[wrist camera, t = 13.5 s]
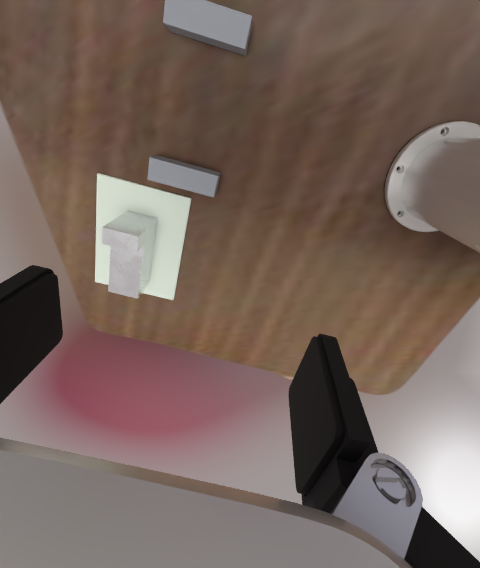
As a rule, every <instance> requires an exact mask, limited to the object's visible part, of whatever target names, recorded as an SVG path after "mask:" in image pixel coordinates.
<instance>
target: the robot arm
mask: <svg viewBox="0 0 480 568" xmlns="http://www.w3.org/2000/svg"><path fill="white" fill-rule="evenodd" d="M441 130H442V133H441ZM398 166H399V169H398V170H396V169H397V167H398ZM384 190H385V201H386V205H387V208H388V210H389V212H390V214H391V215H392V217H393V218H394V219H395V220H396V221H397V222H399V223H400V224H401V225H403V226H405V227H407V228H408V229H411V230H415V231H418V232H434V231H441V232H443V233H445V234H446V235H448V236H450V237H452V238H454V239H455V240H457V241H459V242H461V243H463V244H464V245H466V246H468V247H470V248H472V249H473V250H475V251H477V252H479V253H480V125H478V124H476V123H471V122H466V121H454V122H447V123H442V124H439V125H436V126H433V127H431V128H429V129H427V130H425V131H423V132H421V133H420V134H418V135H417V136H416V137H414V138H413V139H412V140H411V141H410V142H409V143H408V144H407V145H406V146H405V147H404V148H403V149H402V150H401V151H400V152H399V154H398V155H397V157H396V158H395V159H394V161H393V163H392V165H391V167H390V169H389V172H388V175H387V178H386V183H385V189H384ZM399 211H400V212H399ZM398 212H399V213H398ZM397 213H398V214H397ZM62 335H63V331H62V320H61V309H60V298H59V287H58V278H57V276H56V275H55V274H54V273H53V271H52V270H51V269H48V268H43V267H40V266H34V265H32V266H29V267H28V268H26V269H24V270H23V271H21V272H19V273H17V274H16V275H14V276H13V277H11V278H9V279H7V280H6V281H4V282H2V283H0V404H1V403H2V402H3V400H4V399H5V398H6V397H7V396H8V395H9V394H10V393H11V392H12V391H13V390H14V389H15V388H16V387H17V386H18V385H19V384H20V383H21V382H22V381H23V380H24V378H25V377H27V376H28V374H29V373H30V372H31V371H32V370H33V369H34V368H35V367H36V366H37V365H38V364H39V363H40V362H41V361H42V360H43V359H44V358H45V357H46V356H47V355H48V354H49V353H50V352H51V350H52V349H53V348H54V347H55V346H56V345H57V344H58V343H59V342H60V340H61V338H62ZM289 407H290V419H291V430H292V443H293V456H294V468H295V481H296V490H297V492H298V493H301V494H302V504H303V505H300V504H298V503H294V502H290V501H285V500H281V499H277V498H273V497H268V496H264V495H260V494H256V493H252V492H248V491H244V490H239V489H235V488H230V487H226V486H221V485H217V484H212V483H208V482H203V481H199V480H194V479H190V478H185V477H181V476H176V475H172V474H167V473H163V472H158V471H154V470H148V469H144V468H140V467H135V466H130V465H125V464H121V463H117V462H112V461H107V460H103V459H98V458H93V457H89V456H84V455H80V454H75V453H70V452H65V451H61V450H56V449H51V448H47V447H42V446H37V445H33V444H28V443H23V442H18V441H13V440H9V439H4V438H0V568H480V562H479V561H478V560H477V559H476V558H475V557H474V556H473V555H472V554H471V553H470V552H469V551H467V550H466V549H465V548H464V547H463V546H462V545H461V544H460V543H459V542H458V541H457V540H456V539H455V538H454V537H453V536H452V535H451V534H450V533H449V532H448V531H447V530H446V529H444V528H443V527H442V526H441V525H440V524H439V523H438V522H437V521H436V520H435V519H434V518H433V517H432V516H431V515H430V514H429V513H428V512H427V511H426V510H425V509H424V508H423V507H422V500H423V499H422V494H421V490H420V488H419V486H418V484H417V482H416V480H415V479H414V477H413V476H412V474H411V473H410V472H409V470H408V469H407V468H406V467H405V466H404V465H403V464H402V463H400V462H399V461H397V460H396V459H395V458H393V457H391V456H389V455H386V454H382V453H378V450H377V447H376V444H375V441H374V438H373V435H372V432H371V429H370V427H369V424H368V421H367V418H366V415H365V412H364V409H363V406H362V403H361V400H360V397H359V394H358V391H357V388H356V386H355V383H354V381H353V380H352V379H351V378H349V375H348V372H347V369H346V366H345V363H344V360H343V357H342V354H341V350H340V347H339V344H338V341H337V339H336V338H335V337H332V336H328V335H324V334H319V335H318V336H317V337H315V336H314V337H313V338H312V339H311V341H310V344H309V346H308V348H307V350H306V352H305V355H304V357H303V359H302V361H301V363H300V365H299V368H298V370H297V372H296V374H295V376H294V379H293V381H292V383H291V385H290V388H289Z"/></svg>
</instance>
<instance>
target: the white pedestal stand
mask: <svg viewBox="0 0 480 568" xmlns="http://www.w3.org/2000/svg"><path fill="white" fill-rule="evenodd" d="M157 221H158V218H156V217H153V216H149V215H145V214H142V213H138V212H134V211H130V210H127V211H126V212H124V213H123V214H121V215H120V216H118V217H117V218H115V219H114V220H112V221H111V222H109V223H108V224H106V225H105V226H103V227H102V244H105V245H109V246H111V249H110V268H109V287H108V292H113V293H117V294H121V295H125V296H129V297H133V298H139V297H140V295H141V294H142V292H143V291H144V289H145V288H146V286H147V285H148V283H149V282H150V275H151V267H152V260H153V252H154V244H155V237H156V229H157Z"/></svg>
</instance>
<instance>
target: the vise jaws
mask: <svg viewBox="0 0 480 568" xmlns="http://www.w3.org/2000/svg"><path fill="white" fill-rule="evenodd" d="M163 23H164V25H165V26H166V27H167V28H168V29H169V30H170V32H172V33H175V34H179V35H182V36H185V37H188V38H191V39H194V40H197V41H201V42H204V43H207V44H210V45H213V46H216V47H219V48H223V49H226V50H229V51H232V52H235V53H238V54H241V55H244V56H246V53H247V48H248V43H249V39H250V34H251V29H252V16H251V15H248V14H245V13H242V12H239V11H236V10H233V9H230V8H227V7H224V6H221V5H218V4H215V3H212V2H209V1H206V0H165V8H164V18H163ZM220 174H221V173H220V172H217V171H213V170H209V169H206V168H202V167H199V166H195V165H192V164H188V163H184V162H181V161H177V160H174V159H170V158H166V157H163V156H159V155H155V156H152V157H150V159H149V169H148V179H147V180H151V181H155V182H158V183H162V184H166V185H169V186H173V187H177V188H180V189H184V190H188V191H192V192H195V193H199V194H203V195H206V196H210V197H214V196H215V194H216V193H217V188H218V183H219V179H220Z"/></svg>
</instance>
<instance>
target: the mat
mask: <svg viewBox="0 0 480 568" xmlns="http://www.w3.org/2000/svg"><path fill="white" fill-rule="evenodd" d="M191 199H192V198H190V197H187V196H183V195H179V194H175V193H172V192H168V191H164V190H161V189H157V188H153V187H149V186H146V185H142V184H138V183H135V182H131V181H127V180H123V179H120V178H116V177H112V176H109V175H105V174H101V173H97V208H96V263H95V282H98V283H102V284H107V285H109V268H110V249H111V246H109V245H105V244H102V227H103V226H105V225H106V224H108V223H109V222H111V221H112V220H114V219H115V218H117V217H118V216H120V215H121V214H123V213H124V212H126V211H127V210H130V211H134V212H138V213H142V214H145V215H149V216H153V217H156V218H158V221H157V229H156V237H155V244H154V252H153V260H152V267H151V275H150V282H149V283H148V285H147V286H146V288H145V289H144V291H143V292H142V293H145V294H149V295H153V296H157V297H162V298H166V299H170V300H174V296H175V291H176V285H177V279H178V274H179V268H180V262H181V256H182V251H183V245H184V239H185V234H186V228H187V222H188V216H189V211H190V205H191Z"/></svg>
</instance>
